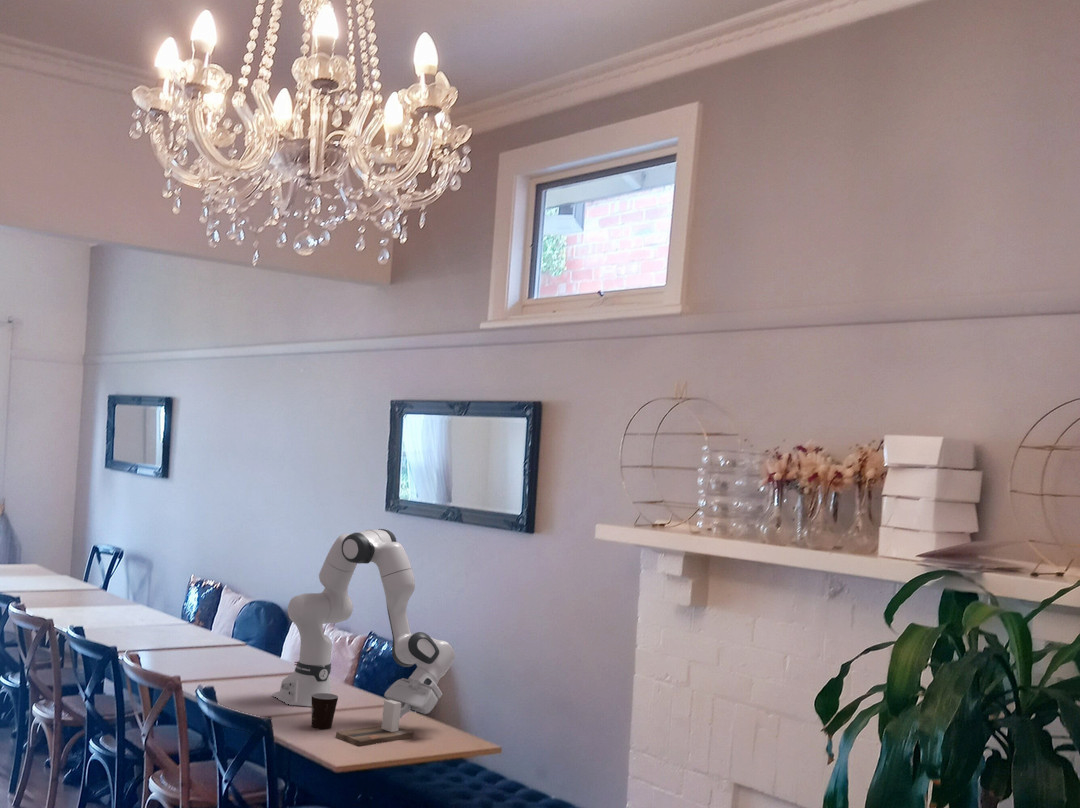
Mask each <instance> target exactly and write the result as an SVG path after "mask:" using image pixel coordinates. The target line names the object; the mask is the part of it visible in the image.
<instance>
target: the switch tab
mask: <svg viewBox="0 0 1080 808" xmlns="http://www.w3.org/2000/svg"><path fill="white" fill-rule="evenodd" d="M400 711H401V703H400V702H397V701H394V700H387V699H385V700H384V701H383V711H382V717H381V718H382V719H381V725H382V726H381V725H380V726H381V729H384V730H387V731H390V732H395V731H398V729H399V728H400V719H401V718H400Z"/></svg>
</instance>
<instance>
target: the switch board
mask: <svg viewBox="0 0 1080 808" xmlns="http://www.w3.org/2000/svg"><path fill="white" fill-rule="evenodd" d="M381 726H382V724H381V725H376V726H370V727H369V726H368V727H362V728H357V729H354V728H353V729H349V730H348V729H347V730H343V731H336V732H335V733H336V734H335V737H336V738H337V739H340V740H343V741H346V742H348V743H350V744H353V745H356V746H358V747H363V746H364V747H365V746H370V745H376V743H377V744H382V742H383V743H388V741H389V742H394V741H398V740H399V741H400V740H406V739H411V738H412V739H413V738H414V732H413V731H409V730H407V729H405V728H404V729H403V728H400V727H399V729H398V731H395V732H390V731H387V730H384V729H381Z"/></svg>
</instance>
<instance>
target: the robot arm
mask: <svg viewBox="0 0 1080 808" xmlns="http://www.w3.org/2000/svg"><path fill="white" fill-rule="evenodd" d="M370 563H373V564H375V565H376V566H377V568H378V569H377V570H378V571H379V576H380V579H381V583H382V586H383V591H384V596H385V602H386V609H387V615H388V621H389V625H390V631H391V635H392V645H391V655H392V658H393V660H394V661H395V662H394V663H396V664H397V665H398V666H401V667H404V668H410V667H413V666H414V665H416V668H415V670H413V672H412V673H411V675H410V676H409V677H408V678H405V677H402V678H400V679H397V680H396V681H395V682H393V683H392V684H391V685H390V686H389V687H388V688H387V690H385V692H384V697H385V700H394V701H397V702H400V703H401V711H400V719H401V718H403V716H404V715H405V714H407V713H409V712H410V711H411V710H412V711H415V712H418V713H421V714H423V715H426V714H427V715H428V714H430V713H431V711H432V710H433V709H434V707H435V706H436V705H437V704H438V701H439V699H441V697H442V696H443V693H442V690H441V689H440V687H439V686H438V683H439V681H440V679H441V678H442V677H443V676H445V675H446V673H448V672H447V671H448V670H449V669H450V668H451V666H452V665H453V662H454V661H455V657H456V652H455V650H454V647H453V646H452V644H450V643H449V642H448V641H446V640H442V639H441V640H440V639H436V638H434V637H432V636H430V635H429V634H428V633H426V632H423V631H418V632H415V633H411V628H410V622H409V619H408V614H407V613H408V612H407V607H408V604H409V600H410V599H411V597H412V595H413V593H414V591H415V589H416V580H415V575H414V571H413V568H412V565H411V561H410V559H409V556H408V554H407V552H406V550H405V548H404V546H403V545H402V544H401V543H400V542H398V541H397V538H396V535H395V534H394V533H393V532H392V531H390V530H389V529H386V528H385V529H384V528H378V529H366V530H362V531H358V532H353V533H343V534H341V535H339V536H338V537H336V540H335V541H334V542H333V544H332V545H331V548H330V549H329V551H328V553H327V555H326V557H325V559H324V562H323V565H322V567H321V569H320V570H319V573H318V578H319V582H320V584H321V585H322V586H323V587H324V588H323V591H321V592H317V593H313V592H310V593H301V594H299V595H295V596H293V597H292V598H291V599H290V600H289V602H288V605H287V614H288V615H287V616H288V618H289V619H290V621H291V622H292V623H294V625H295V626H296V628H297V630H298V634H299V637H300V644H299V645H300V651H299V657H298V658H299V659H298V661H294V665H293V666H295V668H294V671H293V672H292V673H290V674H289V675H288V676H285V678H283V679H282V681H281V684H280V688H279V691H276V692H273V693H272V697H274V698H275V697H276V698H275V699H277V698H278V700H279V701H280V702H282V701H283V703H284V702H285V703H284V704H286V705H288V704H289V705H288V706H300V707H301V706H302V707H311V708H312V694H316V693H328V694H332V693H331V687H332V686H331V684H332V683H331V682H332V681H331V679H332V678H331V677H330V674H331V672H332V671H331V670H332V663H331V657H332V650H333V649H332V648H333V642H332V639H331V638H330V637H329V636H327V635H326V634H324V633H325V632H324V627H323V625H325V624H338V623H341V622H345V621H347V620H349V619H350V617H351V616H352V614H353V610H354V604H353V601H352V599H351V598H350V596H349V594H348V593H349V592H348V589H349V585H350V582H351V580H352V576H353V575H354V572H355V570H356V568H357V565H358V564H370Z"/></svg>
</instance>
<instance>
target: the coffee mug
mask: <svg viewBox="0 0 1080 808" xmlns="http://www.w3.org/2000/svg"><path fill="white" fill-rule="evenodd" d="M338 699H339V696H338V695H336V694H334V693H331V694H328V693H316V694H312V707H311V728H312V729H315V730H320V731H321V730H331V729H332V725H333V721H334V716H335V713H336V709H337V704H338Z"/></svg>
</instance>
